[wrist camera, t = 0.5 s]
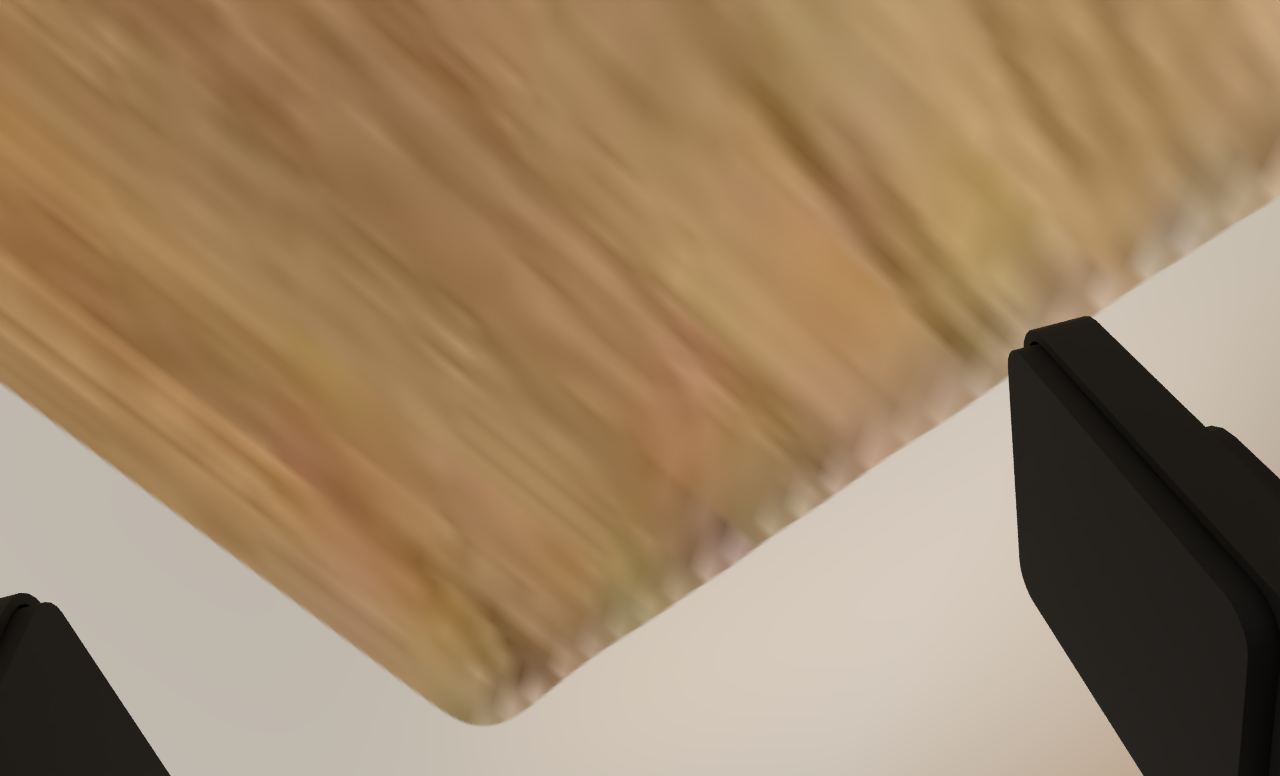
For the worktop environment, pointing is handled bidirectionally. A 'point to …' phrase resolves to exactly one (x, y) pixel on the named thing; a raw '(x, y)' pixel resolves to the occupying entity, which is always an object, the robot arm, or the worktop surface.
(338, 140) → the worktop surface
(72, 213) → the worktop surface
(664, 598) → the worktop surface
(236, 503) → the worktop surface
